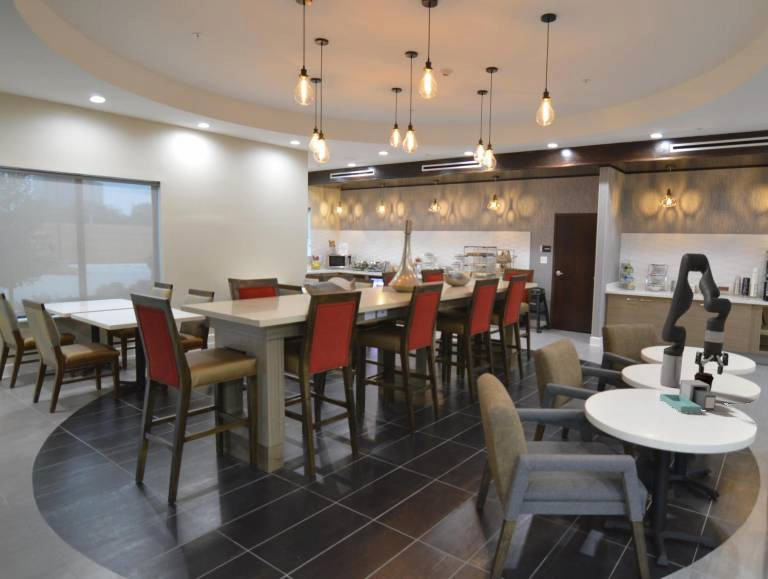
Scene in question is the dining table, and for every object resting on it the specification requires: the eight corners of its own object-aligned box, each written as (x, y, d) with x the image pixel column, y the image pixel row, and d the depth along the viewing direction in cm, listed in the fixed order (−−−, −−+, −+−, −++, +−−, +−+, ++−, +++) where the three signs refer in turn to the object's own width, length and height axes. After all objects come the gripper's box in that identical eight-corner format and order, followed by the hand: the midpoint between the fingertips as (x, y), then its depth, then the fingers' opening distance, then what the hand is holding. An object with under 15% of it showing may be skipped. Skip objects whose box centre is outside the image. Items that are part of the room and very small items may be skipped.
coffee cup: (710, 402, 253) (713, 376, 251) (691, 398, 258) (693, 373, 256) (712, 398, 260) (714, 373, 258) (693, 394, 265) (695, 370, 263)
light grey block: (678, 399, 255) (680, 379, 254) (697, 400, 255) (699, 380, 254) (688, 405, 247) (691, 384, 246) (707, 406, 247) (710, 385, 246)
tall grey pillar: (687, 402, 252) (688, 386, 251) (697, 402, 252) (698, 387, 251) (703, 411, 239) (705, 395, 238) (714, 412, 239) (716, 395, 238)
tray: (659, 399, 254) (660, 393, 253) (678, 400, 254) (679, 394, 253) (680, 412, 236) (681, 406, 235) (700, 413, 236) (701, 406, 235)
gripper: (723, 339, 242) (719, 372, 244) (693, 338, 242) (690, 371, 244) (734, 342, 234) (730, 376, 236) (703, 341, 234) (700, 375, 236)
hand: (710, 373), depth 240 cm, fingers open, 8 cm apart
